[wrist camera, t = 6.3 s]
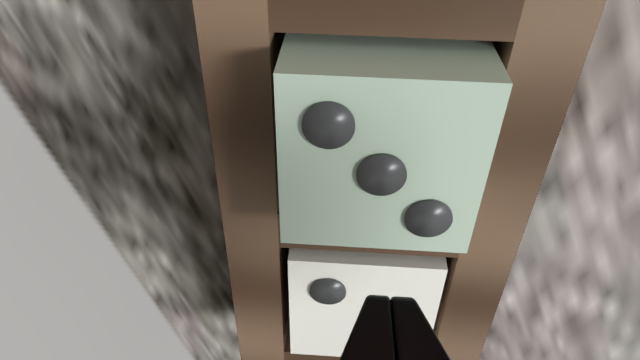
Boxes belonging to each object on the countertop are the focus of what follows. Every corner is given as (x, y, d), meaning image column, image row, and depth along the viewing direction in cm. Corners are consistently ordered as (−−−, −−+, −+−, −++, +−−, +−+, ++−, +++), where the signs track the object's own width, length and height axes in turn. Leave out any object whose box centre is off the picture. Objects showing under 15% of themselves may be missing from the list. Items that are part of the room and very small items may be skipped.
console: (458, 318, 22) (470, 382, 20) (254, 306, 23) (242, 366, 20) (689, -475, 9) (809, -569, 6) (178, -474, 9) (115, -564, 7)
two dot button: (419, 307, 21) (425, 364, 19) (297, 300, 21) (290, 355, 19) (438, 216, 18) (448, 272, 16) (295, 208, 18) (287, 262, 16)
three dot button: (453, 194, 16) (467, 256, 14) (290, 185, 16) (280, 245, 14) (489, 37, 13) (514, 86, 10) (287, 28, 13) (272, 75, 11)
